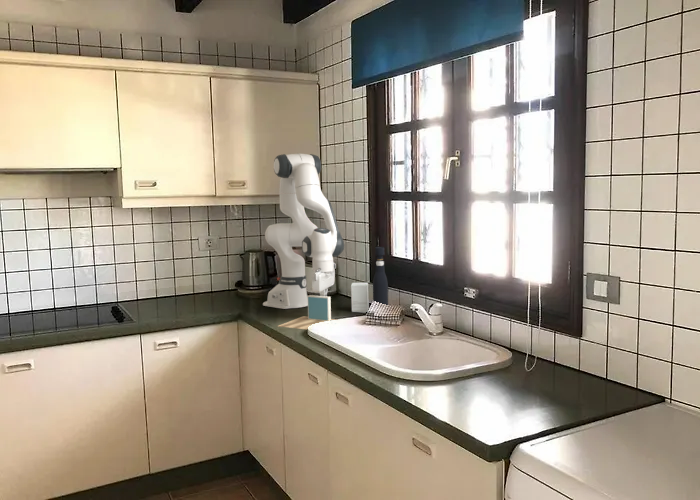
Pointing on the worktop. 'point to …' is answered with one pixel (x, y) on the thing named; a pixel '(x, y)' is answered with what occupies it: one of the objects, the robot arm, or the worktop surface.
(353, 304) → the supplement box
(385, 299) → the navy water bottle
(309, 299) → the tile
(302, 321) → the trivet
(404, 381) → the worktop surface
